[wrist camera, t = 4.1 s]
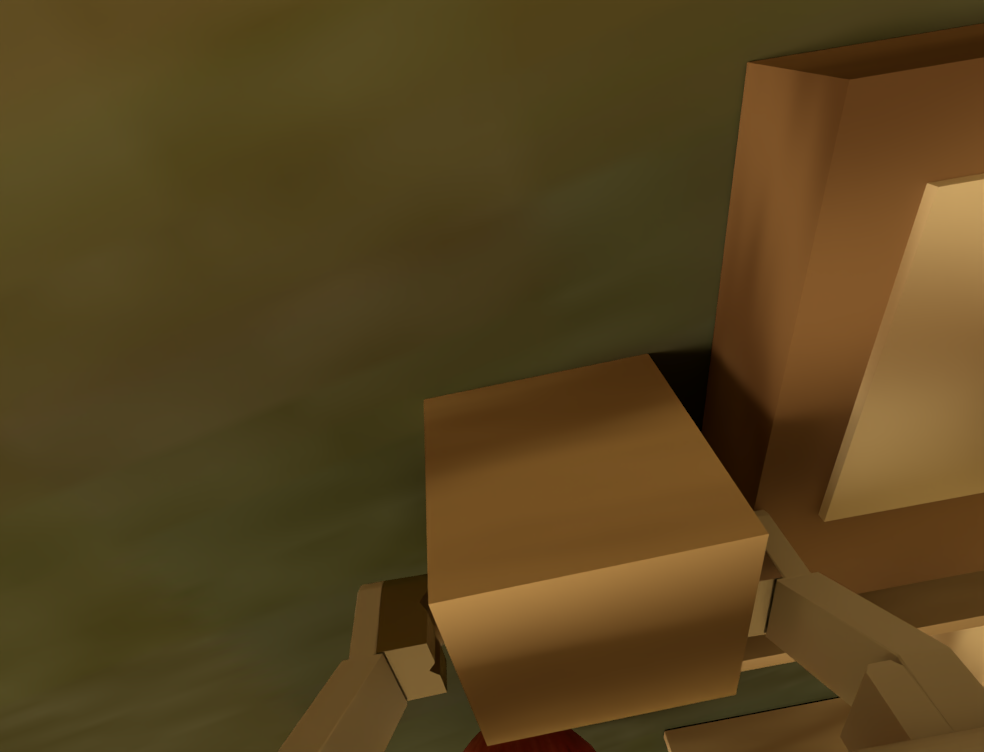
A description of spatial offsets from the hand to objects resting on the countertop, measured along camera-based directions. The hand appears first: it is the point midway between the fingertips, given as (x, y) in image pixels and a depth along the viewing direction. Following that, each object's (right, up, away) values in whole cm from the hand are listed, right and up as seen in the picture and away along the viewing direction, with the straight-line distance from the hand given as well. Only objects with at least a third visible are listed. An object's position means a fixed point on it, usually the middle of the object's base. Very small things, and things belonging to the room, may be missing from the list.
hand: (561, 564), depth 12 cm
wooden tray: (+9, 0, +5) cm, 10 cm away
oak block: (0, +2, +2) cm, 3 cm away
